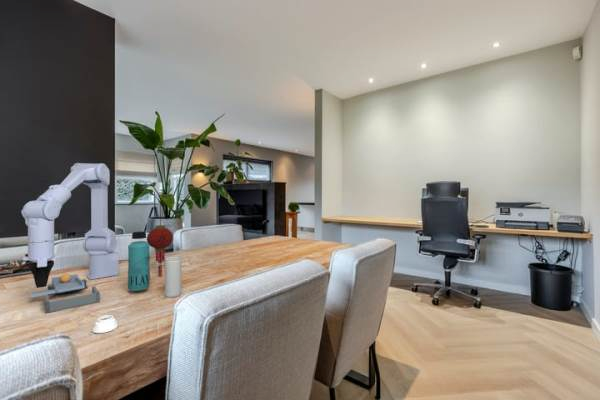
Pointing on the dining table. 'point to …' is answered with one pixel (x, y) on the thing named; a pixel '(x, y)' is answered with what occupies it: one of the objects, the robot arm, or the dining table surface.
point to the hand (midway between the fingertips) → (41, 286)
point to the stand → (70, 290)
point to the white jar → (105, 324)
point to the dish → (71, 301)
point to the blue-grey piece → (62, 286)
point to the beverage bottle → (138, 263)
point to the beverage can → (172, 277)
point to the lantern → (160, 242)
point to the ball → (65, 278)
